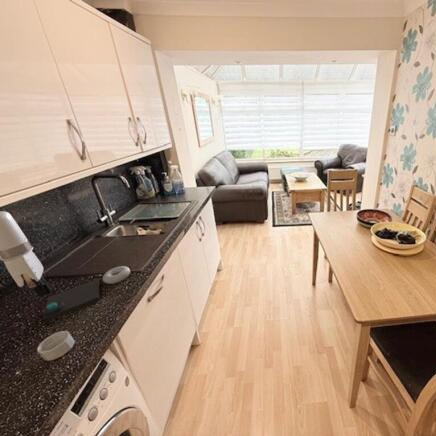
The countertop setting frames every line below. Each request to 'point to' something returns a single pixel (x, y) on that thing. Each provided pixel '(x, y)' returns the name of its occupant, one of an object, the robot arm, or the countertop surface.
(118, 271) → the donut
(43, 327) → the countertop surface
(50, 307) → the tare button
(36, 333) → the countertop surface
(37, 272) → the robot arm
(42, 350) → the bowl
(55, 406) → the countertop surface
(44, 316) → the scale
